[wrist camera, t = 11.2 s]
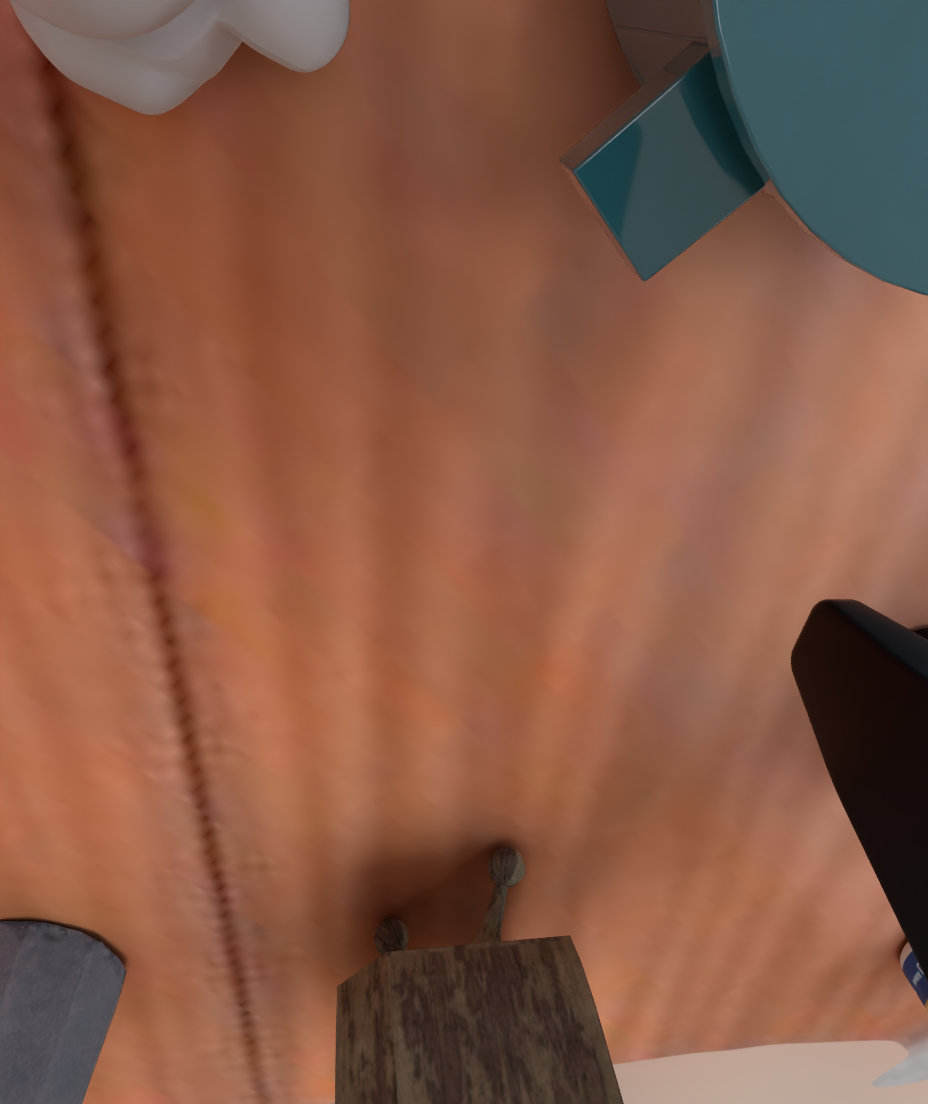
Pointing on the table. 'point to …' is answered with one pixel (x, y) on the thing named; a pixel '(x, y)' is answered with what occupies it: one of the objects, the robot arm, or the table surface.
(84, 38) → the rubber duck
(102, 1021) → the moka pot
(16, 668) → the table surface
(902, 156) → the pot lid
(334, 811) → the table surface
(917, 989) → the beverage bottle
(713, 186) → the pot
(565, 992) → the tabletop clock
